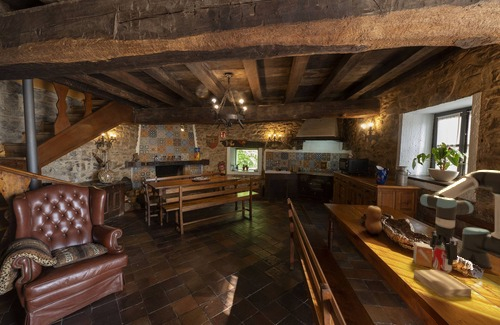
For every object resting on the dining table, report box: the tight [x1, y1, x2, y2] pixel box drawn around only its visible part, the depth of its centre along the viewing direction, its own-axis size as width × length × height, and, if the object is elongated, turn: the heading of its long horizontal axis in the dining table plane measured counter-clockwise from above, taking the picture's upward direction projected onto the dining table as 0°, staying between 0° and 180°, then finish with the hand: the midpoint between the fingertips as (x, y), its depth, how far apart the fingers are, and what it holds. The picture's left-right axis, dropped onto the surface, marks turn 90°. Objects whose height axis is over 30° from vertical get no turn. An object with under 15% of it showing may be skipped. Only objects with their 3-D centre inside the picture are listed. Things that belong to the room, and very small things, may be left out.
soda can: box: [432, 244, 451, 274], centre depth 106 cm, size 7×7×13 cm
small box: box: [412, 241, 433, 269], centre depth 128 cm, size 8×6×13 cm
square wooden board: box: [413, 269, 472, 298], centre depth 107 cm, size 16×16×4 cm
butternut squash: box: [364, 205, 383, 235], centre depth 176 cm, size 14×13×25 cm
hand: (441, 265), depth 106 cm, fingers closed on soda can, 7 cm apart
